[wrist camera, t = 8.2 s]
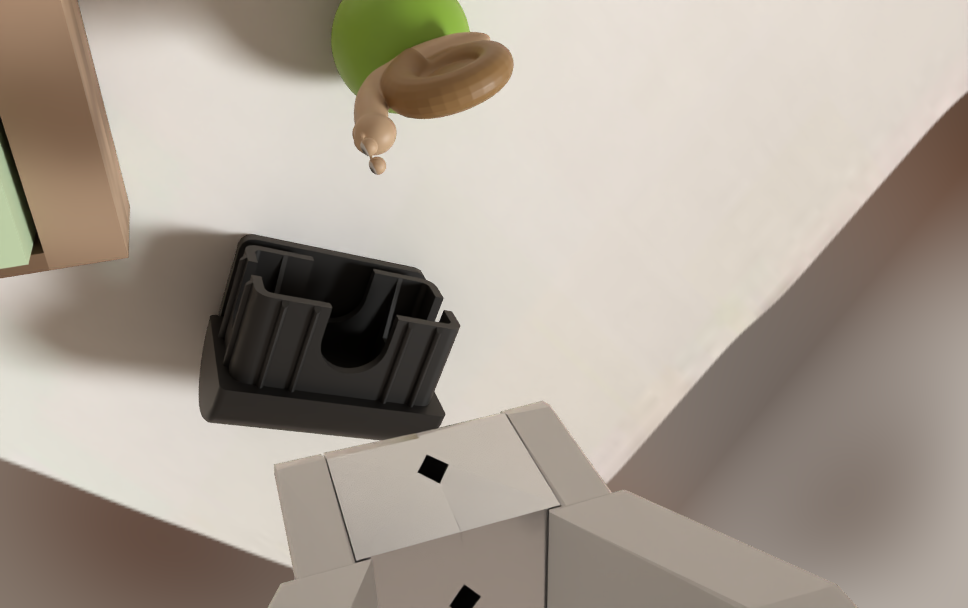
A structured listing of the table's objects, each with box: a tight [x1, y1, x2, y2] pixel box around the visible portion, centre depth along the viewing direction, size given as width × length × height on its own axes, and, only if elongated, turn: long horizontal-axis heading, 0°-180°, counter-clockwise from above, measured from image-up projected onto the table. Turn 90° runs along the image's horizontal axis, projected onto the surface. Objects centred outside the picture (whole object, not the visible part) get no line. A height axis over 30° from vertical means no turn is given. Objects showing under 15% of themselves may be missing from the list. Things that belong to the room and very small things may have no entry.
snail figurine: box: [331, 0, 513, 175], centre depth 31 cm, size 5×6×12 cm
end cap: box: [199, 235, 460, 440], centre depth 39 cm, size 10×7×7 cm
